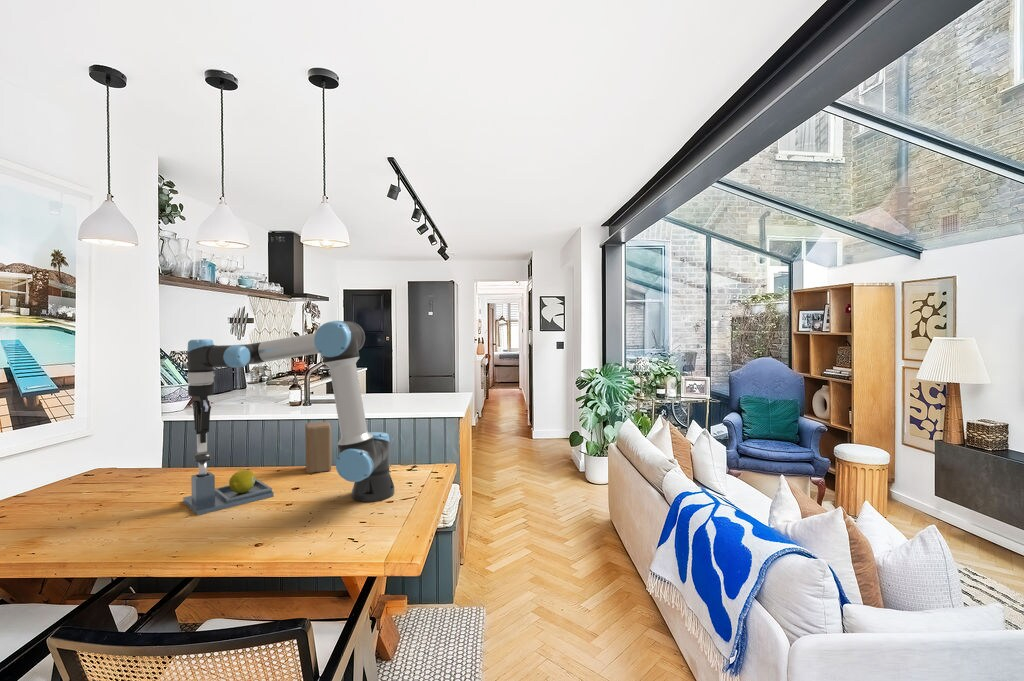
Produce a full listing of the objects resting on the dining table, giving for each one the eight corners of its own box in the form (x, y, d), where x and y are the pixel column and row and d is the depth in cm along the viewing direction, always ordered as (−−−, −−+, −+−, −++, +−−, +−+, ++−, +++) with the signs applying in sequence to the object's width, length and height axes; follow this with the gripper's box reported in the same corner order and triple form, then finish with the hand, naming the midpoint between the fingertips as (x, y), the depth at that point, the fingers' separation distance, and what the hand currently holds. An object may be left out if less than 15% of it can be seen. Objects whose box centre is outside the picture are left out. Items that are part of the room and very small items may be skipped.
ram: (213, 483, 165) (212, 453, 165) (196, 487, 161) (196, 456, 161) (209, 480, 168) (208, 451, 168) (192, 483, 165) (192, 454, 164)
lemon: (242, 497, 168) (241, 475, 168) (222, 496, 169) (222, 474, 169) (262, 487, 179) (262, 466, 178) (244, 486, 180) (244, 465, 180)
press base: (273, 496, 174) (273, 468, 173) (197, 515, 156) (196, 484, 156) (255, 485, 186) (255, 458, 185) (183, 501, 168) (182, 472, 168)
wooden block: (305, 467, 209) (305, 422, 208) (329, 465, 213) (329, 420, 212) (306, 474, 200) (305, 427, 199) (331, 471, 204) (331, 425, 203)
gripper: (219, 384, 162) (220, 453, 163) (208, 381, 171) (209, 446, 172) (193, 386, 157) (194, 457, 157) (183, 383, 165) (184, 450, 166)
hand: (202, 451), depth 164 cm, fingers closed
